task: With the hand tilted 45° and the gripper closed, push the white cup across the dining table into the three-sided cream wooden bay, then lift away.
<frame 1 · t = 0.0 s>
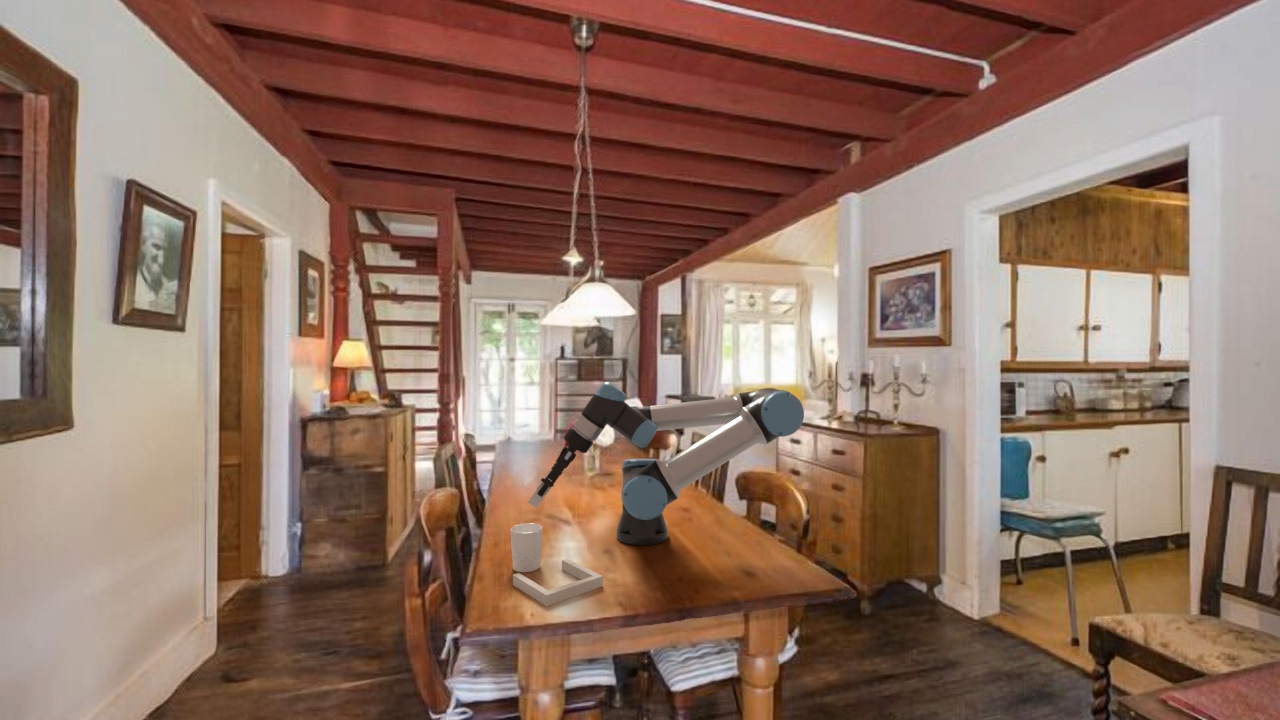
hand: (536, 498, 146), 15 cm above the table, tool tilted 35°, fingers open, 13 cm apart
bay: (556, 585, 127), on the table
white cup: (526, 568, 138), on the table
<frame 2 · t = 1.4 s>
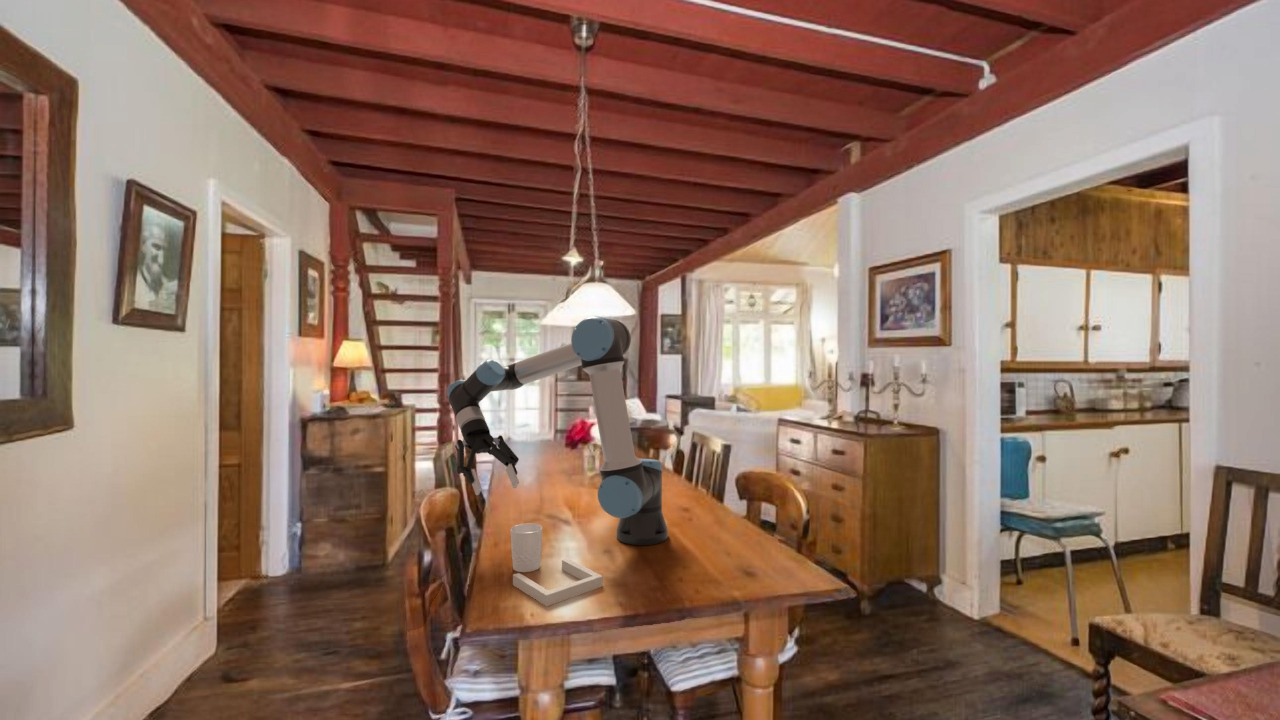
hand: (498, 488, 148), 17 cm above the table, tool tilted 45°, fingers open, 10 cm apart
nothing on the table moved.
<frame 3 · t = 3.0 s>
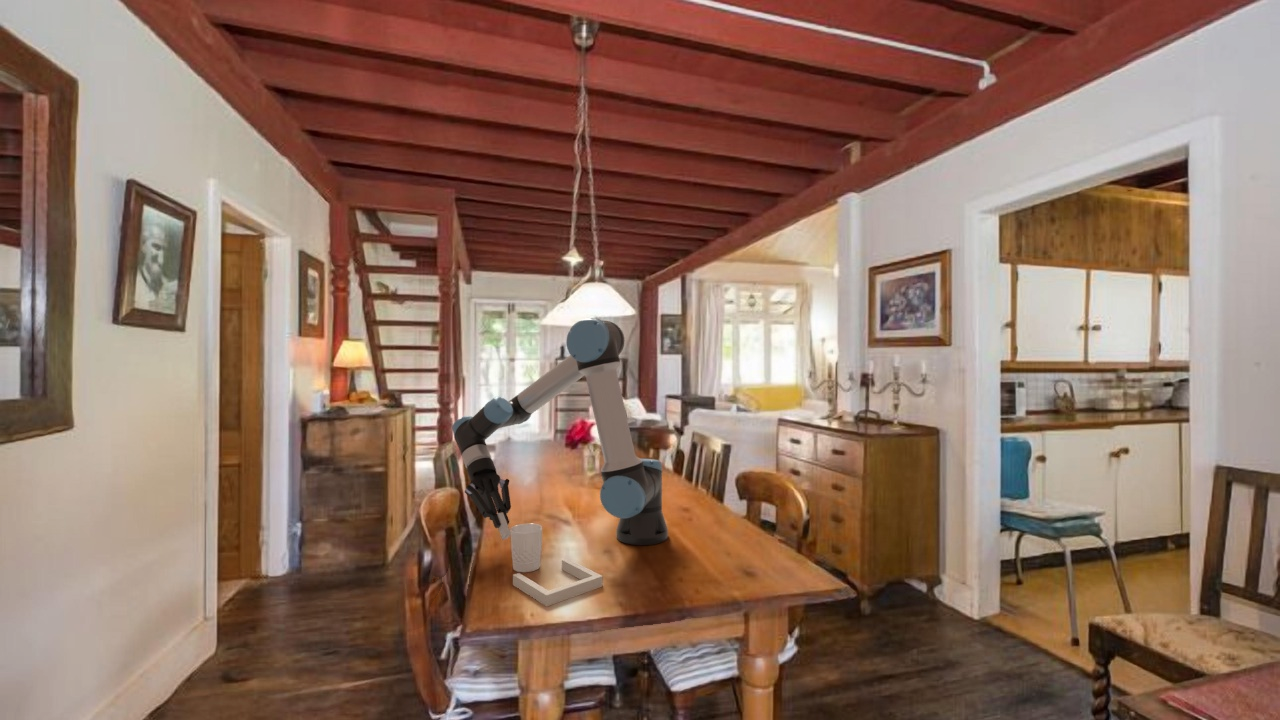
hand: (506, 536, 145), 5 cm above the table, tool tilted 45°, fingers closed
nothing on the table moved.
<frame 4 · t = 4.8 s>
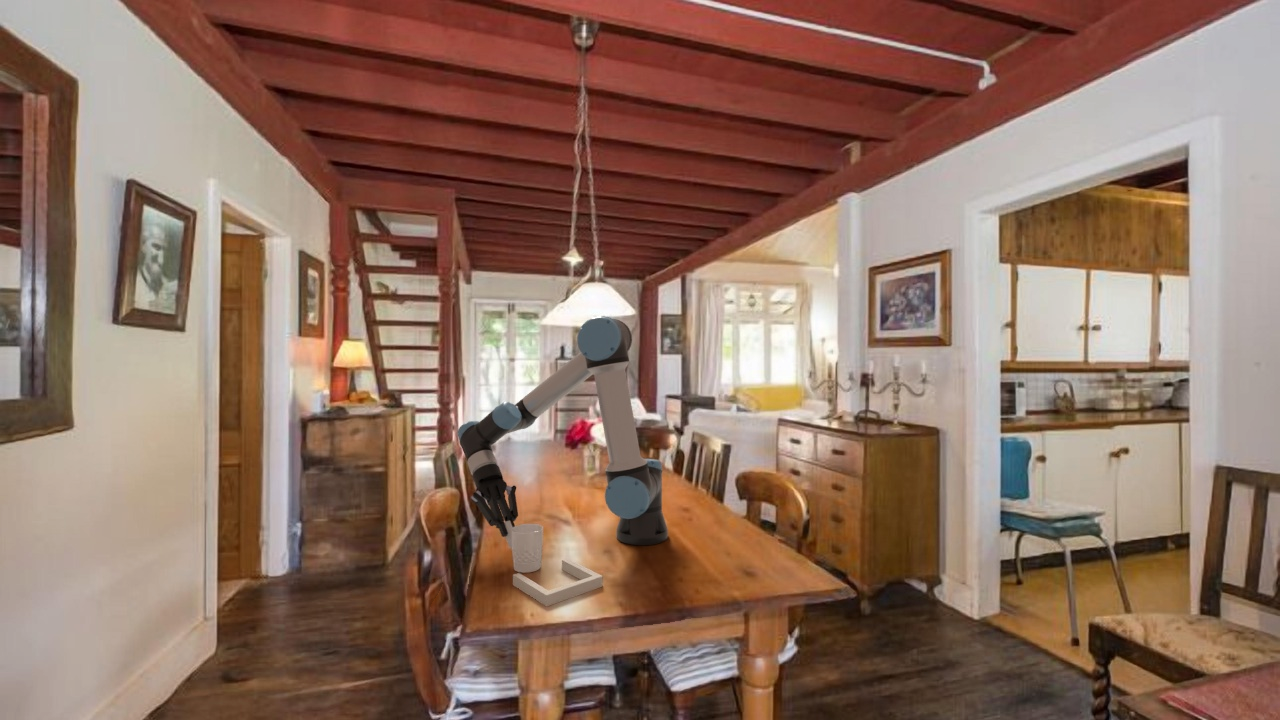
hand: (514, 545, 140), 5 cm above the table, tool tilted 45°, fingers closed
white cup: (527, 568, 137), on the table, touching gripper
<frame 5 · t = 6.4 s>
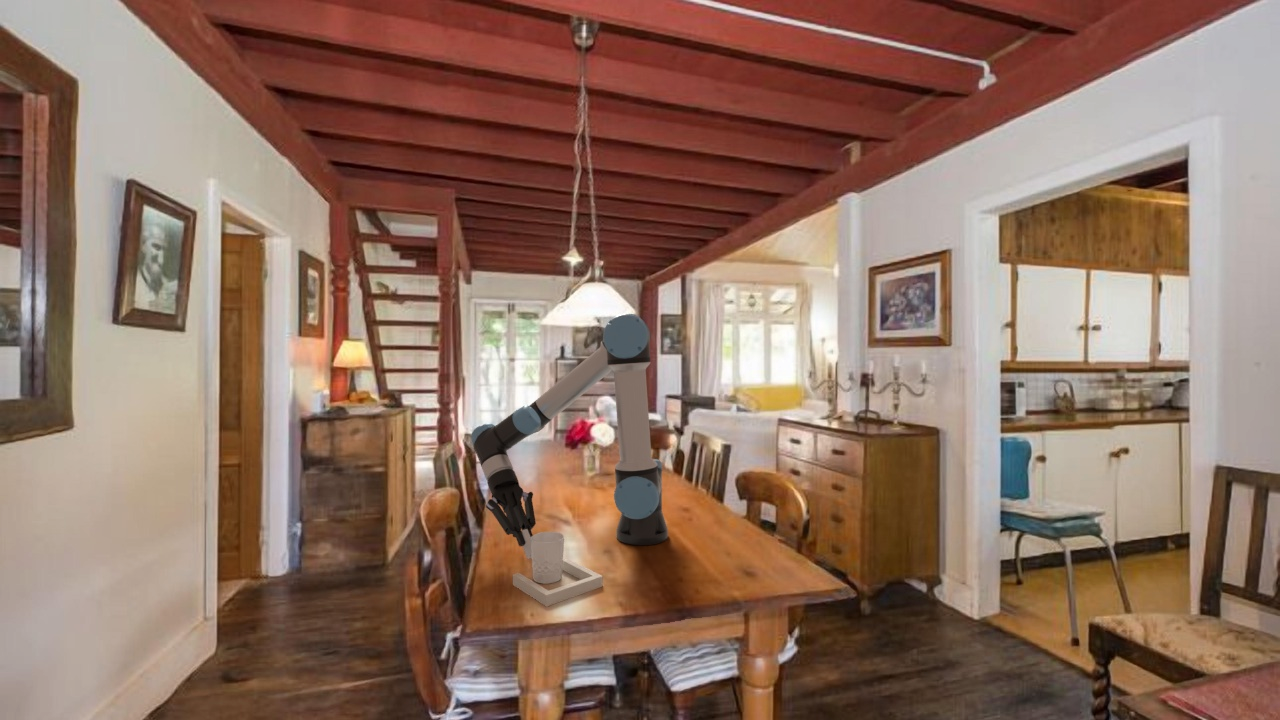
hand: (532, 555, 133), 5 cm above the table, tool tilted 45°, fingers closed
white cup: (547, 578, 131), on the table, touching gripper
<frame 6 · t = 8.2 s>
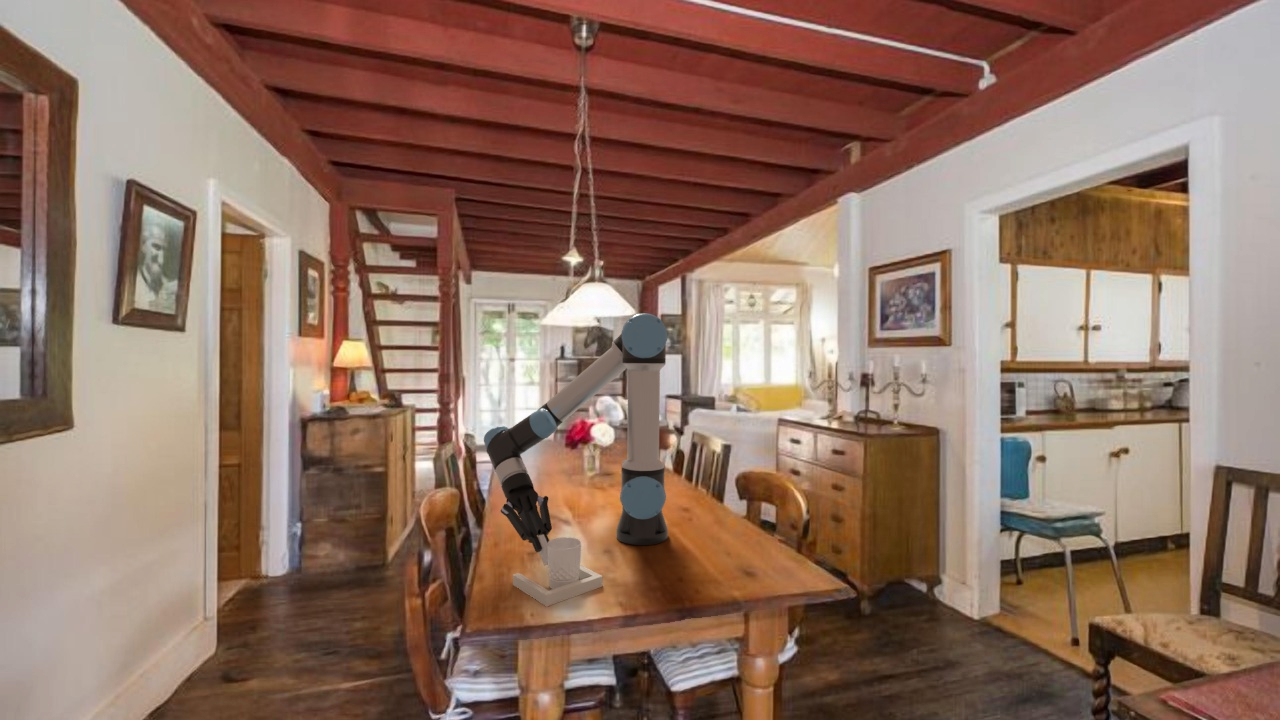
hand: (549, 561, 129), 5 cm above the table, tool tilted 45°, fingers closed
white cup: (564, 586, 127), on the table, touching gripper
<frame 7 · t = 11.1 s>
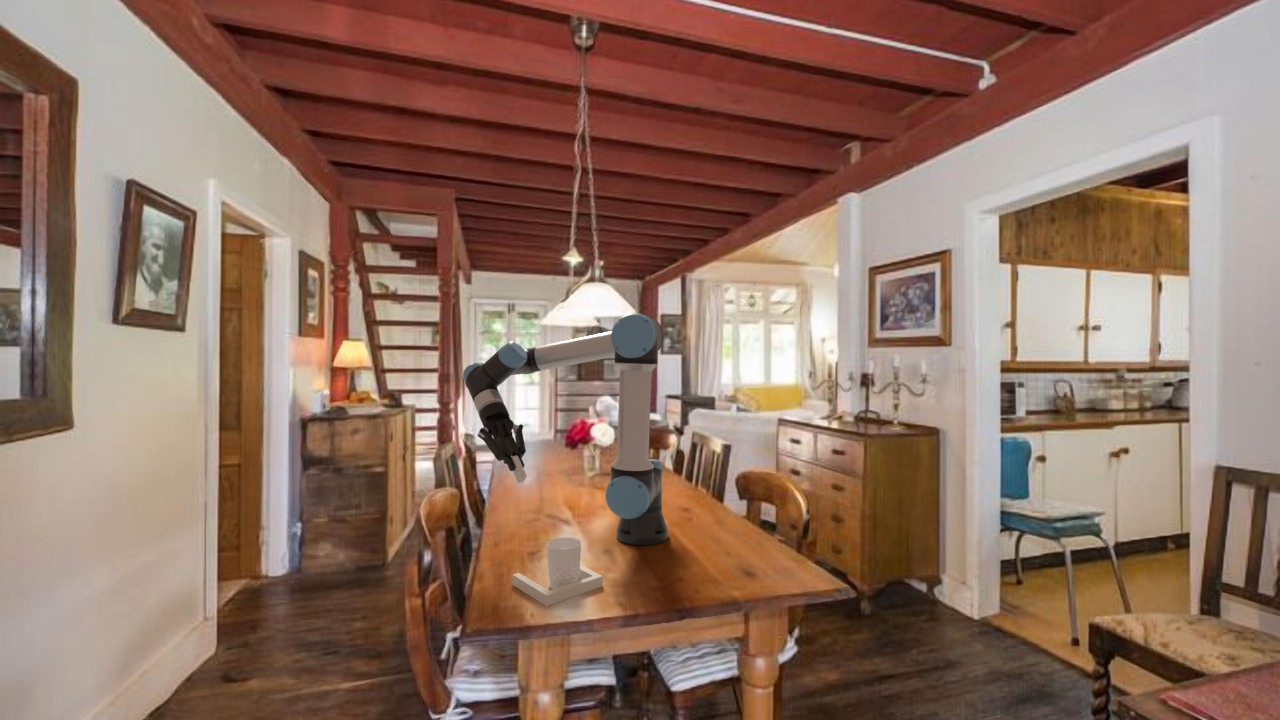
hand: (522, 479, 139), 22 cm above the table, tool tilted 45°, fingers closed
white cup: (564, 586, 127), on the table
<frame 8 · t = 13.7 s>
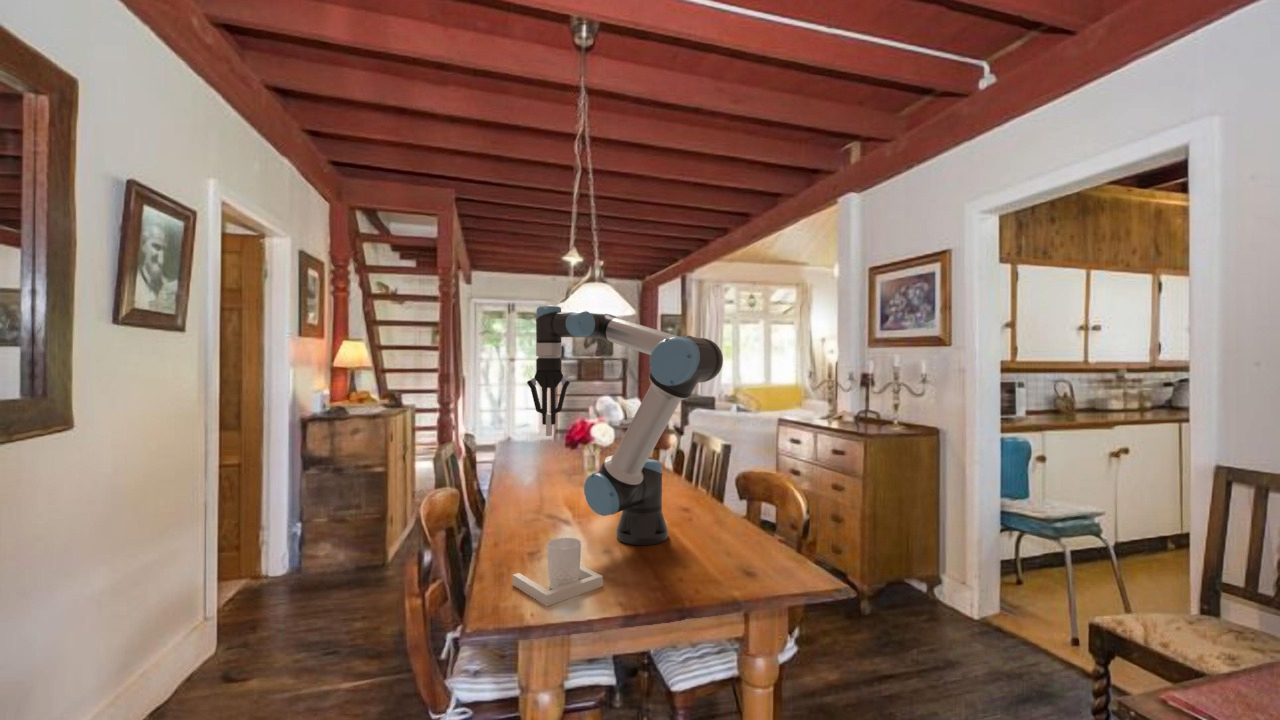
hand: (549, 435, 165), 29 cm above the table, tool pointing down, fingers closed
nothing on the table moved.
at the end: white cup 1.7 cm from the bay (horizontally); white cup tilted 0° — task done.
